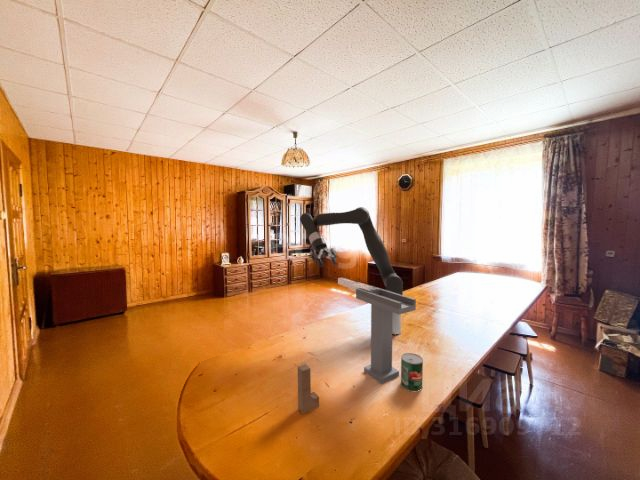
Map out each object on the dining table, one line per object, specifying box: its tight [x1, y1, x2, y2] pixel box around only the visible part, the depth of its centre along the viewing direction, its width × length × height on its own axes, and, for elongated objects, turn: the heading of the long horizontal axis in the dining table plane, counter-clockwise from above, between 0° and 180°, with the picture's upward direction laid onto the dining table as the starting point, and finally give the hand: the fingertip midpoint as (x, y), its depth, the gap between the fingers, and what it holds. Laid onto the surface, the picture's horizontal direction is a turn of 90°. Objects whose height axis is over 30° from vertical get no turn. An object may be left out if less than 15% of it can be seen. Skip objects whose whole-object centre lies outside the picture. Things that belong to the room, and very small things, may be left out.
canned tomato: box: [400, 352, 424, 392], centre depth 101 cm, size 8×8×11 cm
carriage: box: [337, 277, 381, 295], centre depth 121 cm, size 25×6×3 cm, turn 31°
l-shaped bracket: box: [297, 363, 320, 415], centre depth 89 cm, size 7×3×15 cm, turn 123°
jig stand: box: [355, 286, 417, 385], centre depth 107 cm, size 24×10×34 cm, turn 31°
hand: (329, 265), depth 137 cm, fingers open, 8 cm apart
